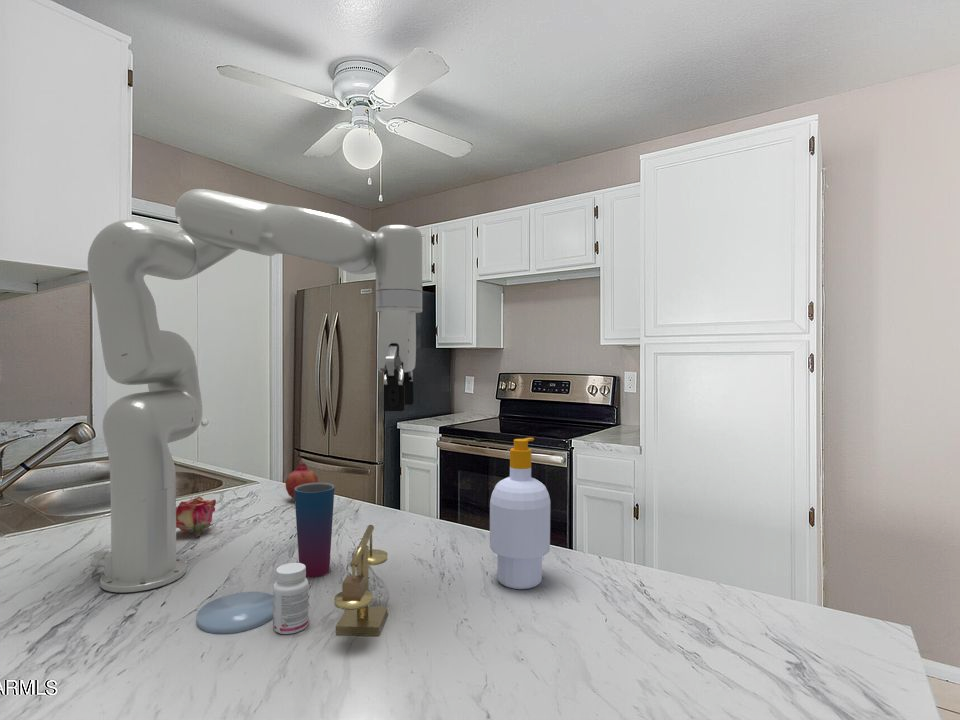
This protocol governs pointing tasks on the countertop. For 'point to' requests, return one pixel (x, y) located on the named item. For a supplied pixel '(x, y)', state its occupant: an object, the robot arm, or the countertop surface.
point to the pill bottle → (290, 599)
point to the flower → (195, 515)
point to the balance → (361, 593)
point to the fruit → (300, 478)
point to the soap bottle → (520, 522)
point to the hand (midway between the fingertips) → (399, 407)
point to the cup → (314, 526)
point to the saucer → (236, 612)
